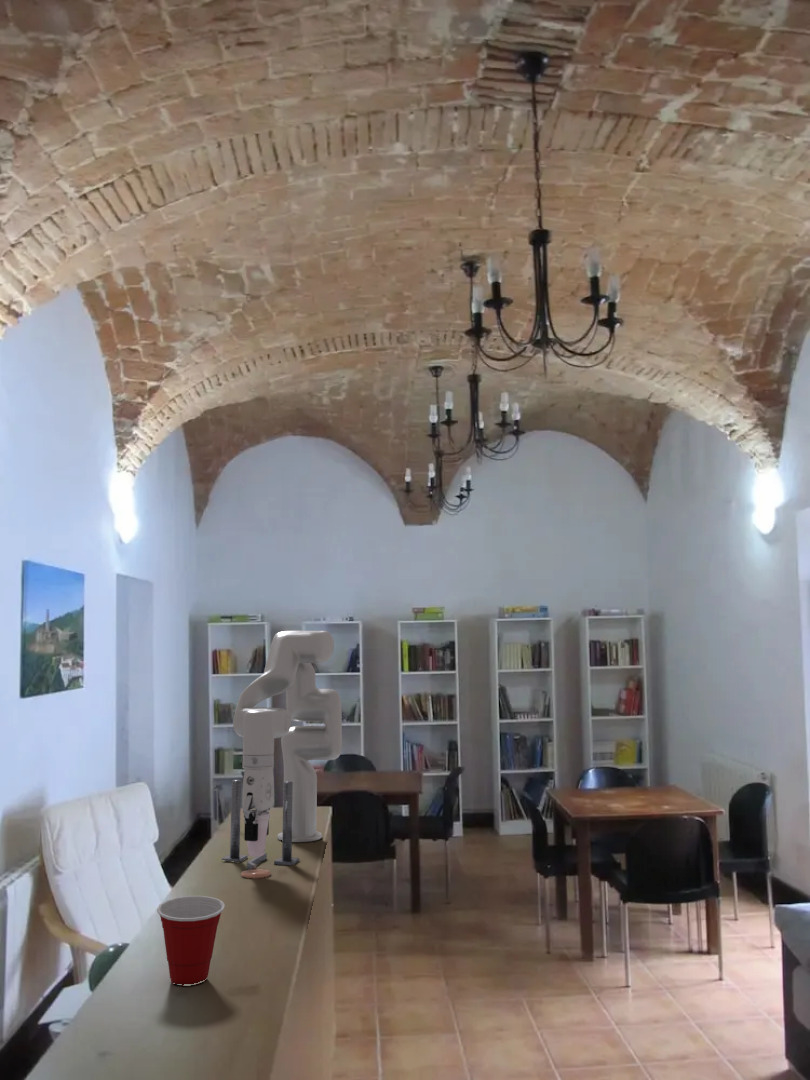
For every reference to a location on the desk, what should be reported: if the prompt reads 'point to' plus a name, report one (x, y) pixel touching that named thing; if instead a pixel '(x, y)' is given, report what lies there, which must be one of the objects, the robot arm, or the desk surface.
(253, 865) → the bent rail
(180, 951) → the plastic cup
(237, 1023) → the desk surface
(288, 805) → the post
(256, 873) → the coaster
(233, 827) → the post
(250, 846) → the smoothie
